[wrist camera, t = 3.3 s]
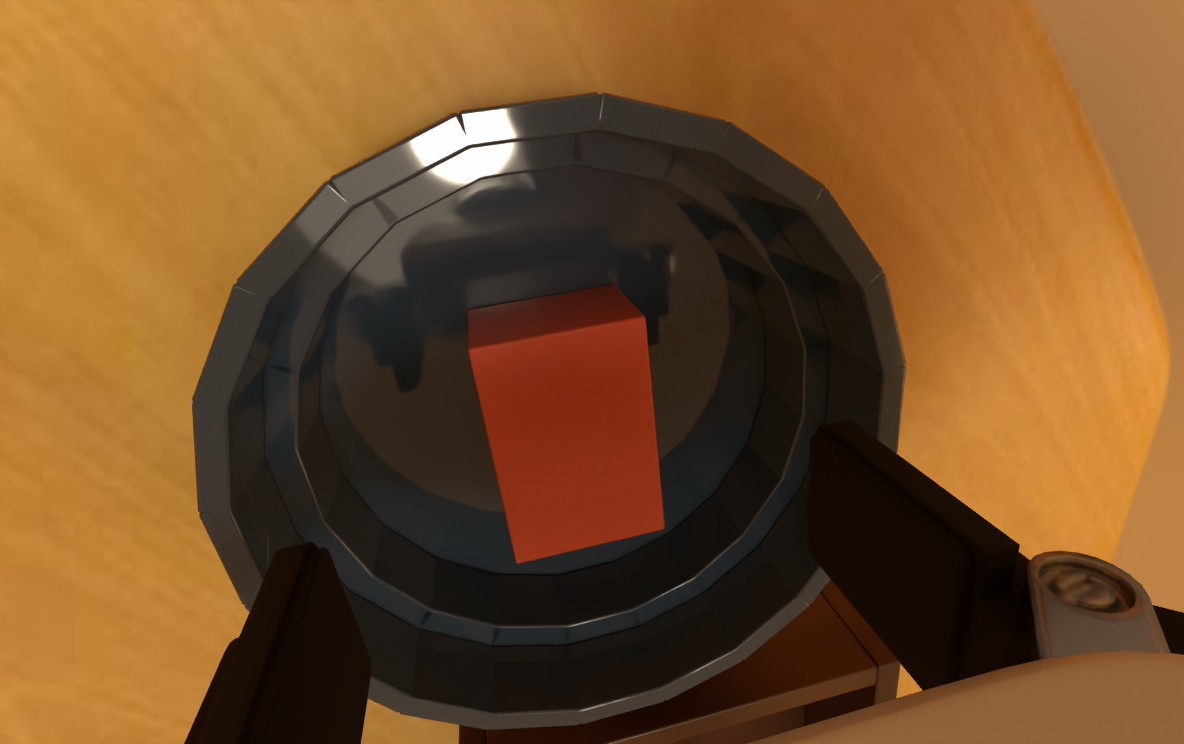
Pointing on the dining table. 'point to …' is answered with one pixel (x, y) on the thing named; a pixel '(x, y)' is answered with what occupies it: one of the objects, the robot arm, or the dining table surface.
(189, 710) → the dining table surface
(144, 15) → the dining table surface
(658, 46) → the dining table surface
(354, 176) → the bowl
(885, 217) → the dining table surface
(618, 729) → the holder
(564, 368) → the block
